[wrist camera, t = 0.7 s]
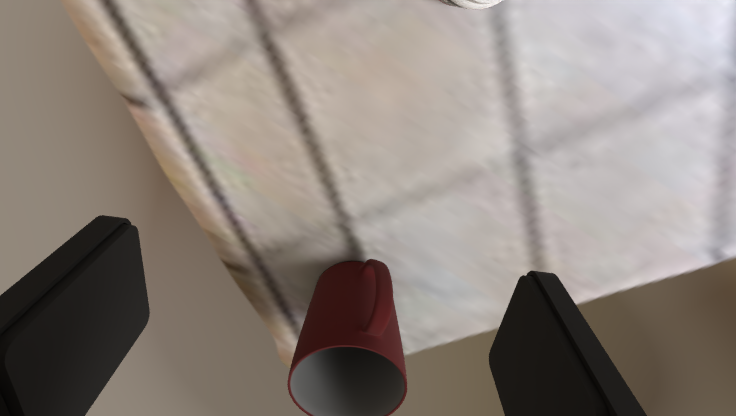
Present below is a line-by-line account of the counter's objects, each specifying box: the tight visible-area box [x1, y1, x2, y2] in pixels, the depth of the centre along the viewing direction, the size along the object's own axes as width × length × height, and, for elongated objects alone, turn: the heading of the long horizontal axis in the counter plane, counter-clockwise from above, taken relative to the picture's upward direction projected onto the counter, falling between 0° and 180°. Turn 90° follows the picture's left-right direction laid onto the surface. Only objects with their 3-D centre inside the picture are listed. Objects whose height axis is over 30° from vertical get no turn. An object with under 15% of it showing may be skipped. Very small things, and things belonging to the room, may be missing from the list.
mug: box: [288, 259, 407, 416], centre depth 34 cm, size 12×9×11 cm
